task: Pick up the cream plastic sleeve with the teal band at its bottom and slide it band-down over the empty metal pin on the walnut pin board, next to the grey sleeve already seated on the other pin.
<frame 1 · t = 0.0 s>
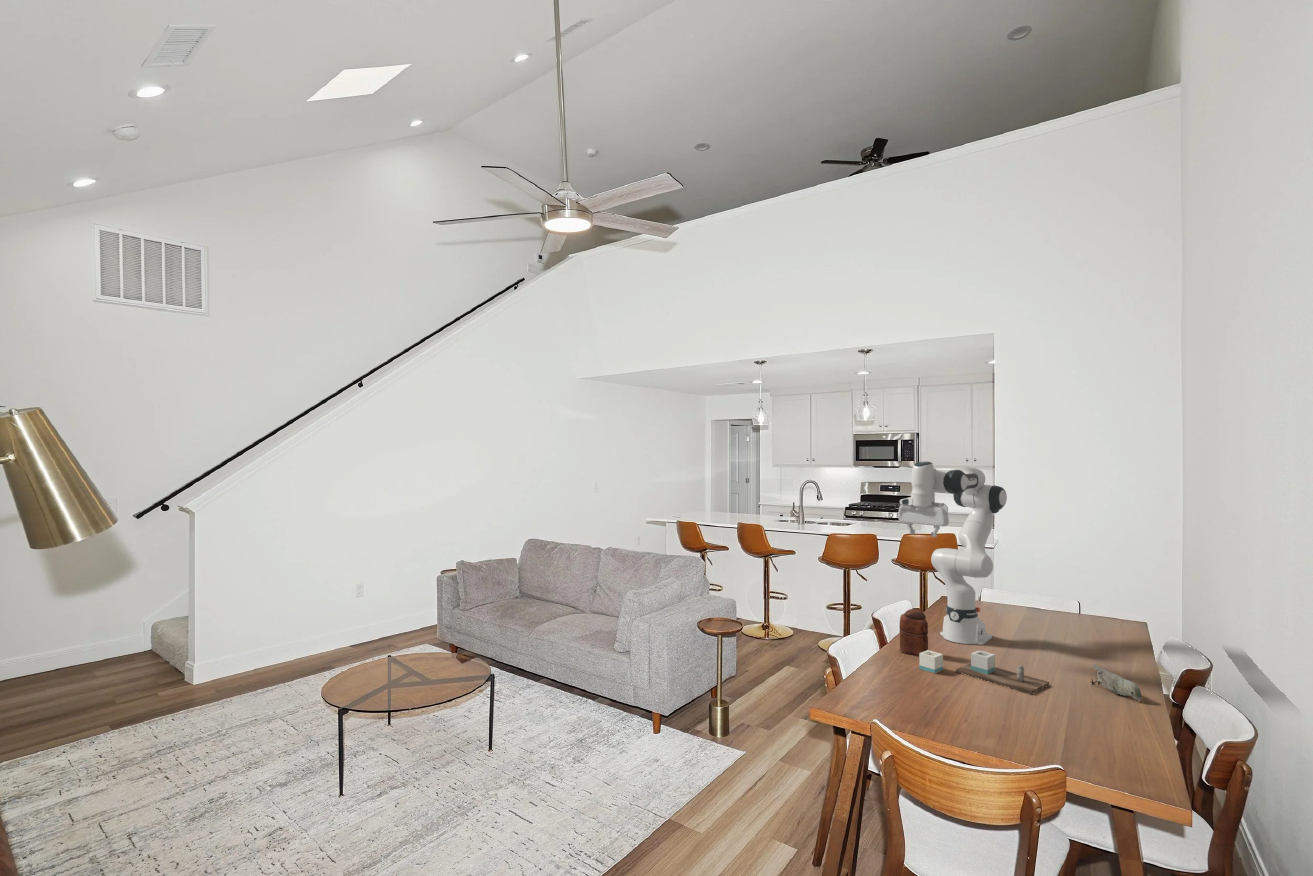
hand: (923, 535, 254), 48 cm above the table, tool pointing down, fingers open, 8 cm apart
brown leather case: (914, 654, 253), on the table
pin board: (1001, 678, 225), on the table
cream sleeve: (931, 669, 234), on the table
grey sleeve: (983, 670, 231), point 1 cm above the table, touching pin board
decorative bird: (1116, 694, 212), on the table
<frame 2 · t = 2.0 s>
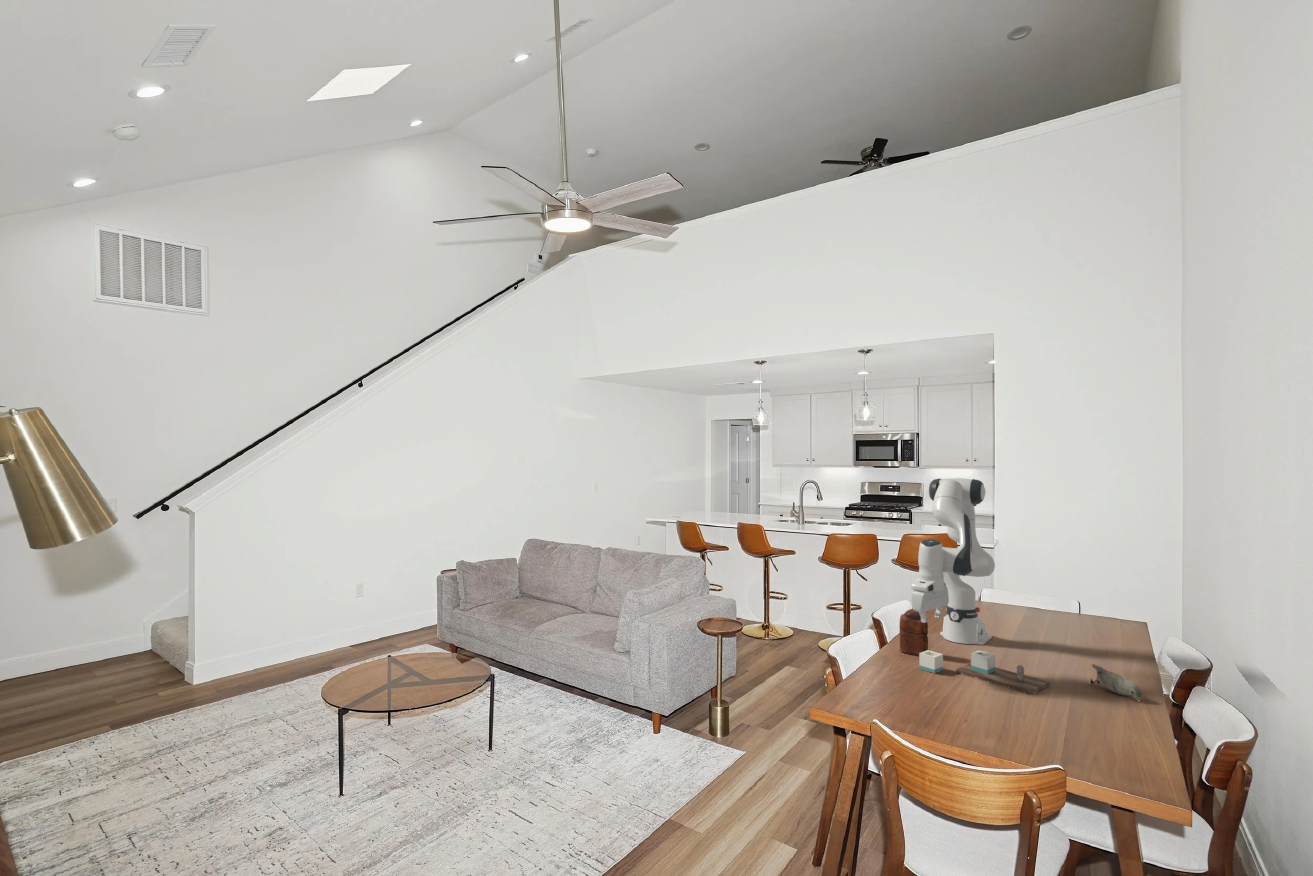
hand: (930, 620, 234), 19 cm above the table, tool pointing down, fingers open, 8 cm apart
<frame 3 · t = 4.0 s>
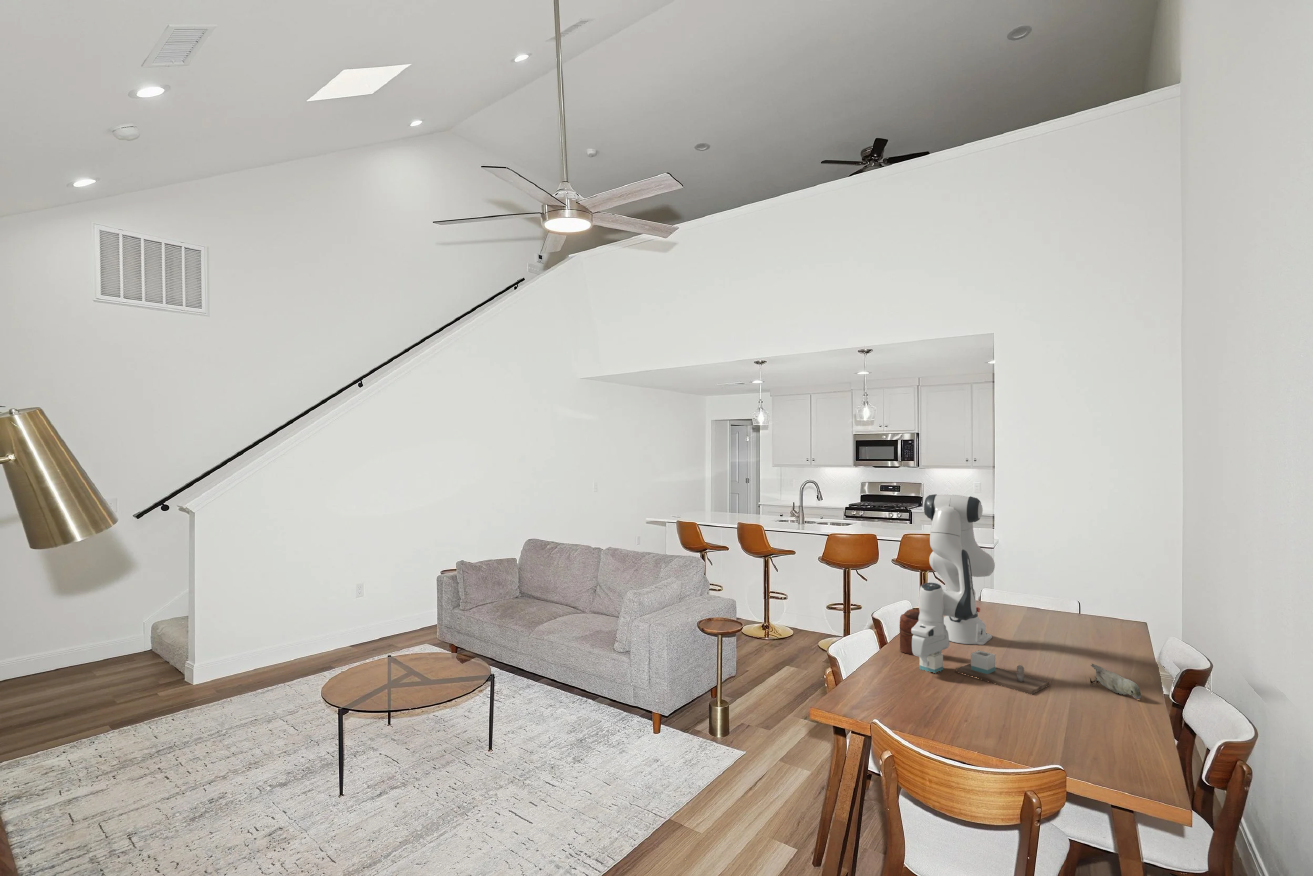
hand: (931, 664, 234), 2 cm above the table, tool pointing down, fingers closed on cream sleeve, 6 cm apart
cream sleeve: (931, 669, 234), on the table, touching gripper
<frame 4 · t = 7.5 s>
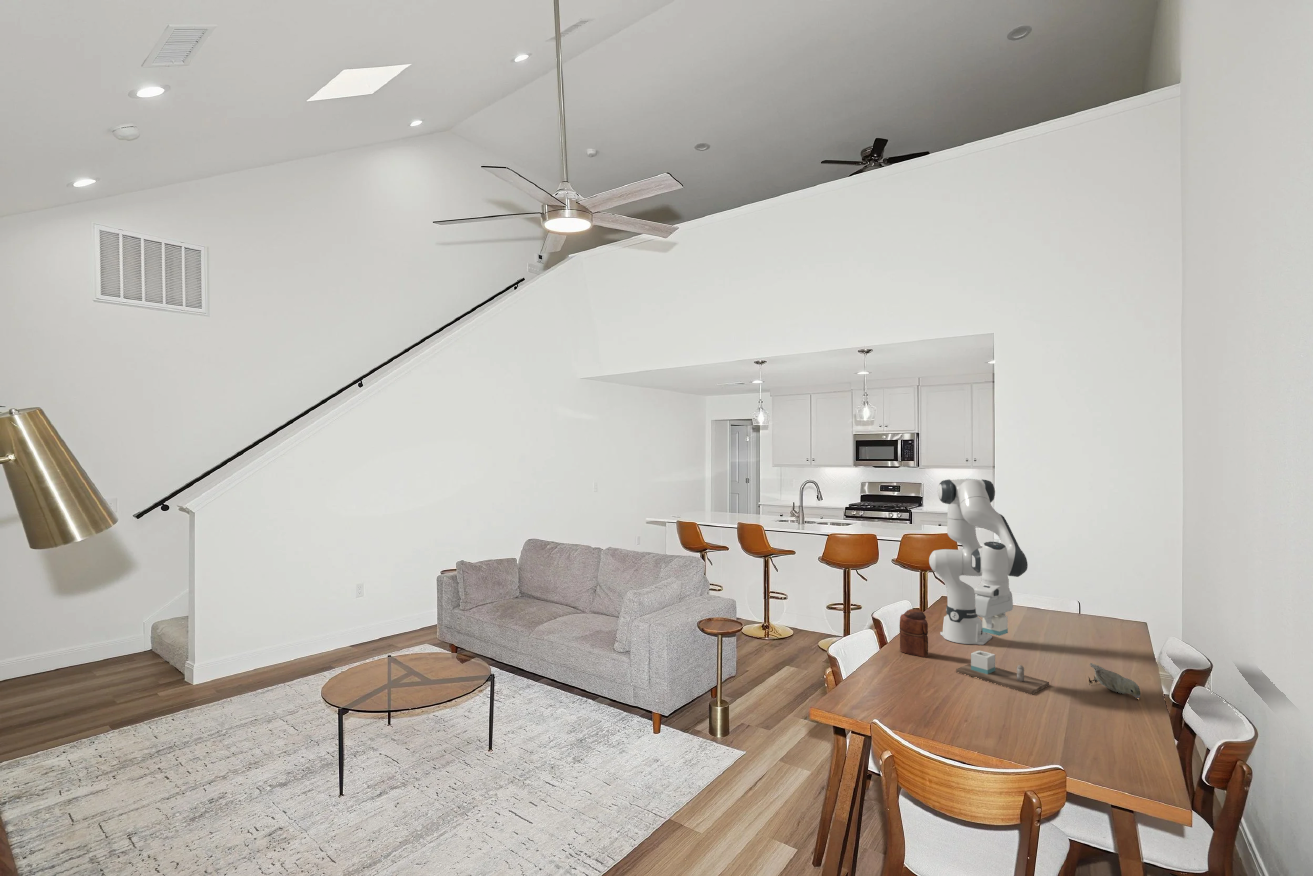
hand: (995, 626, 224), 19 cm above the table, tool pointing down, fingers closed on cream sleeve, 6 cm apart
cream sleeve: (995, 632, 224), point 17 cm above the table, touching gripper
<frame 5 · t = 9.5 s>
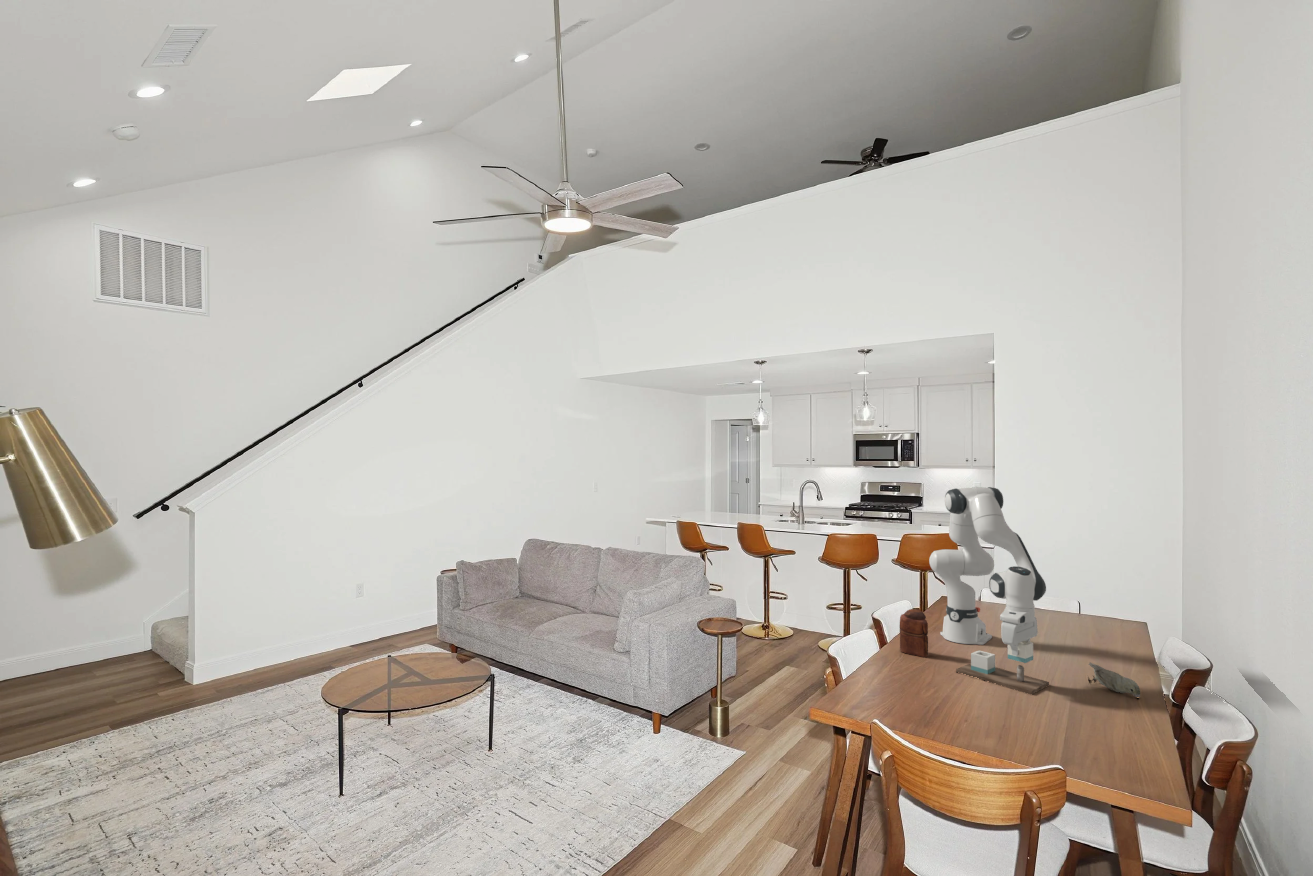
hand: (1020, 653, 220), 11 cm above the table, tool pointing down, fingers closed on cream sleeve, 6 cm apart
cream sleeve: (1020, 659, 220), point 9 cm above the table, touching gripper
when the fingers open (5 cm above the table, at t = 11.3 s): cream sleeve drops 1 cm, resting on pin board.
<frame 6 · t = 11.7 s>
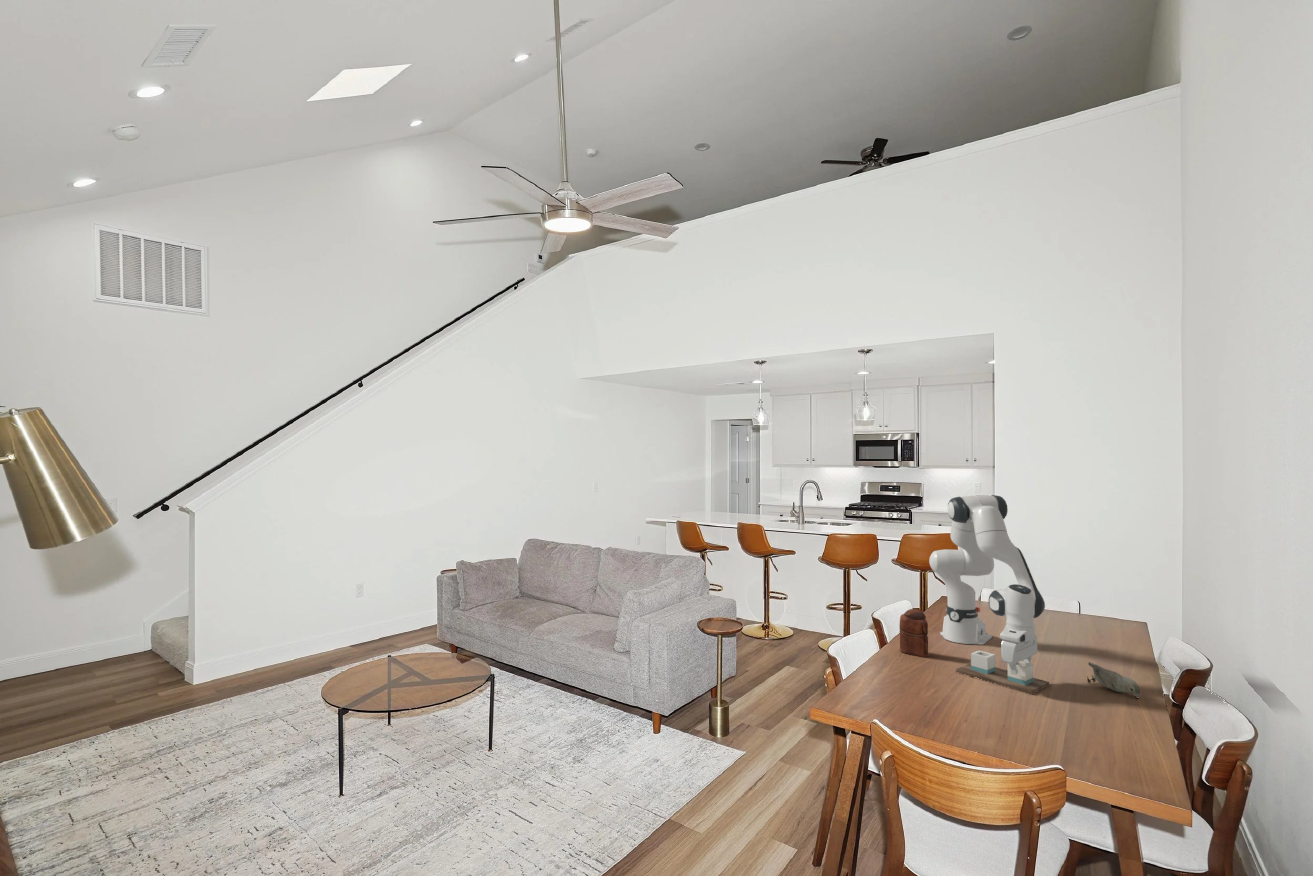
hand: (1020, 671, 220), 5 cm above the table, tool pointing down, fingers open, 8 cm apart
cream sleeve: (1020, 680, 220), point 1 cm above the table, touching pin board
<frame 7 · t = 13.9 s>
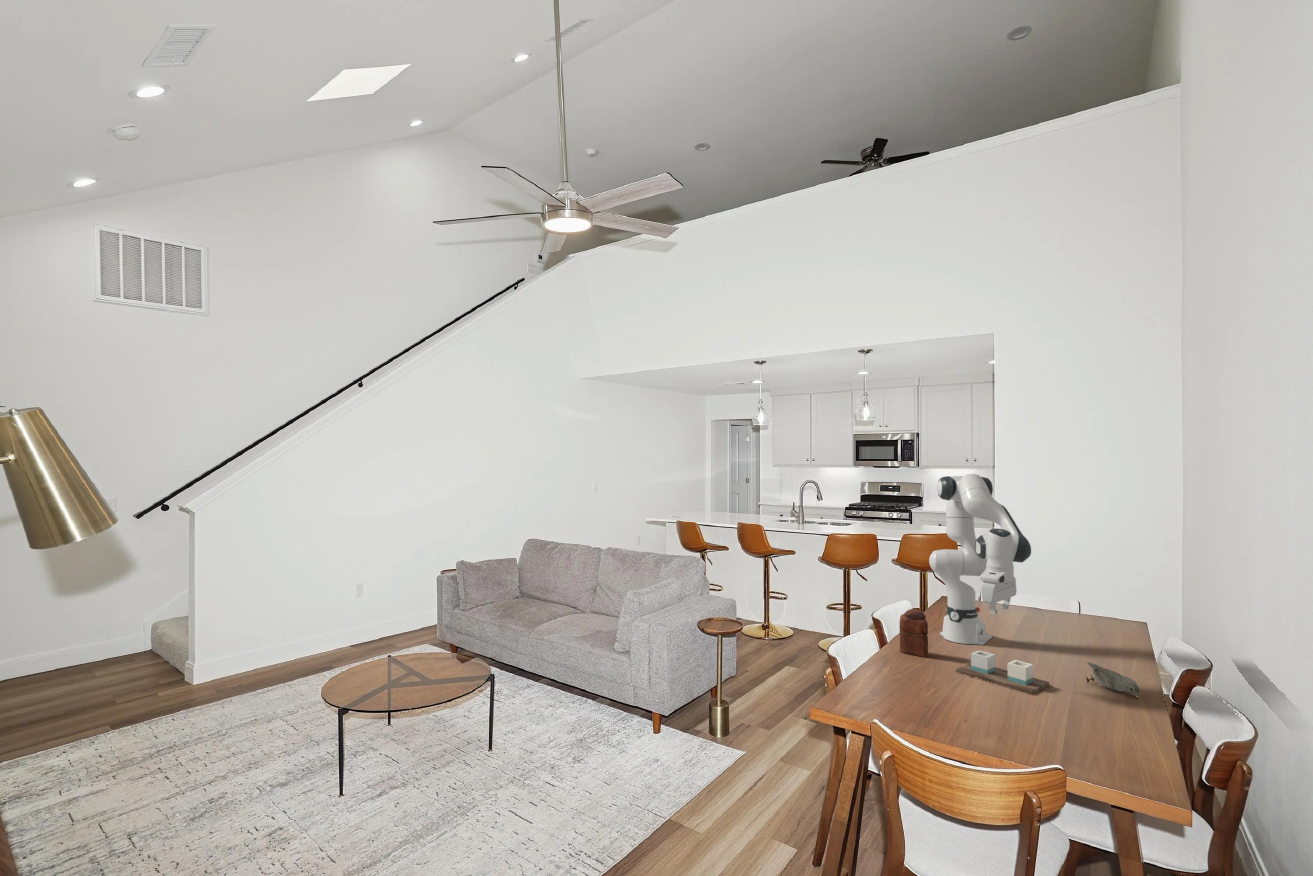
hand: (999, 611, 228), 24 cm above the table, tool pointing down, fingers open, 8 cm apart
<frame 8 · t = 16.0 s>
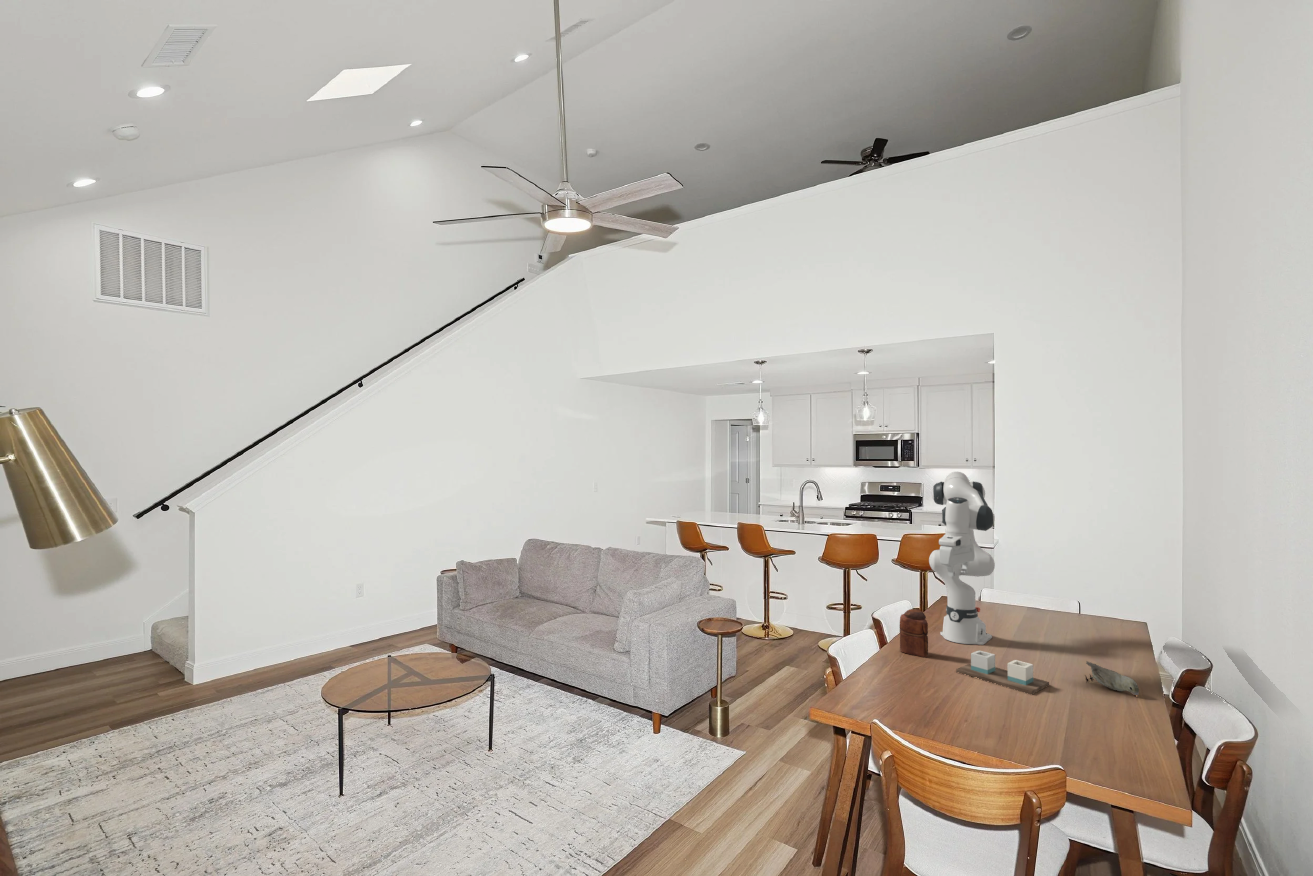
hand: (957, 574, 243), 34 cm above the table, tool pointing down, fingers open, 8 cm apart
at the end: cream sleeve 0.0 cm from the target spot on the pin board, point 1.2 cm above the pin board's base; cream sleeve tilted 0°; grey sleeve moved 0.0 cm from its start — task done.
